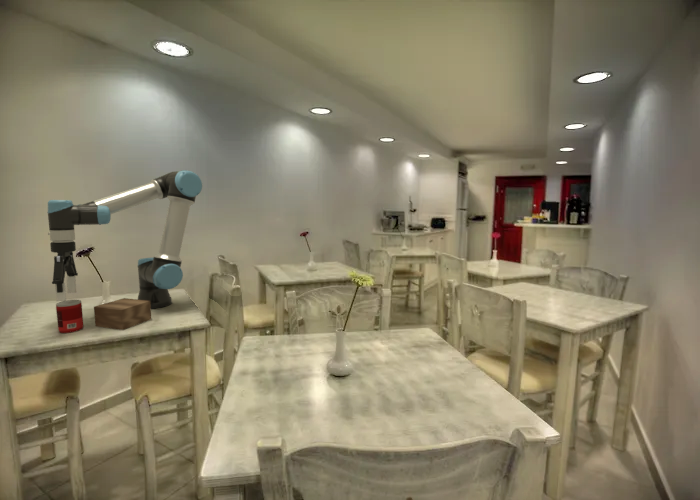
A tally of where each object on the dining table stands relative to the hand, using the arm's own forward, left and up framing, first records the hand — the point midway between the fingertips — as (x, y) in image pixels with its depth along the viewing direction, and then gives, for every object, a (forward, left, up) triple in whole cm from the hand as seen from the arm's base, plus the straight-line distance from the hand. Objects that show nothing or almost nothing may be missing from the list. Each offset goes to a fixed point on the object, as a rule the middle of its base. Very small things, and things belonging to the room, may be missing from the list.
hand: (67, 296), depth 145 cm
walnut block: (-13, +12, -13) cm, 22 cm away
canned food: (0, 0, -14) cm, 14 cm away
